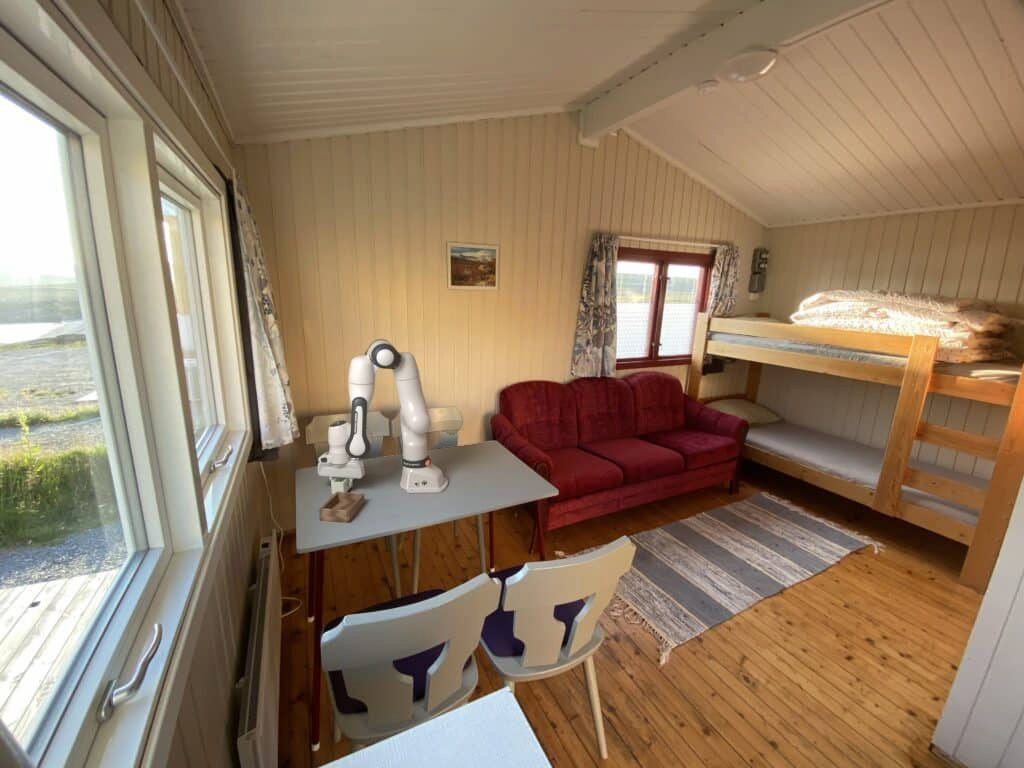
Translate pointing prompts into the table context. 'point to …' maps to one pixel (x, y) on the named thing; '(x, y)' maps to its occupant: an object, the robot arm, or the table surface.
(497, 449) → the table surface
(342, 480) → the sage crate
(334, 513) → the walnut crate
